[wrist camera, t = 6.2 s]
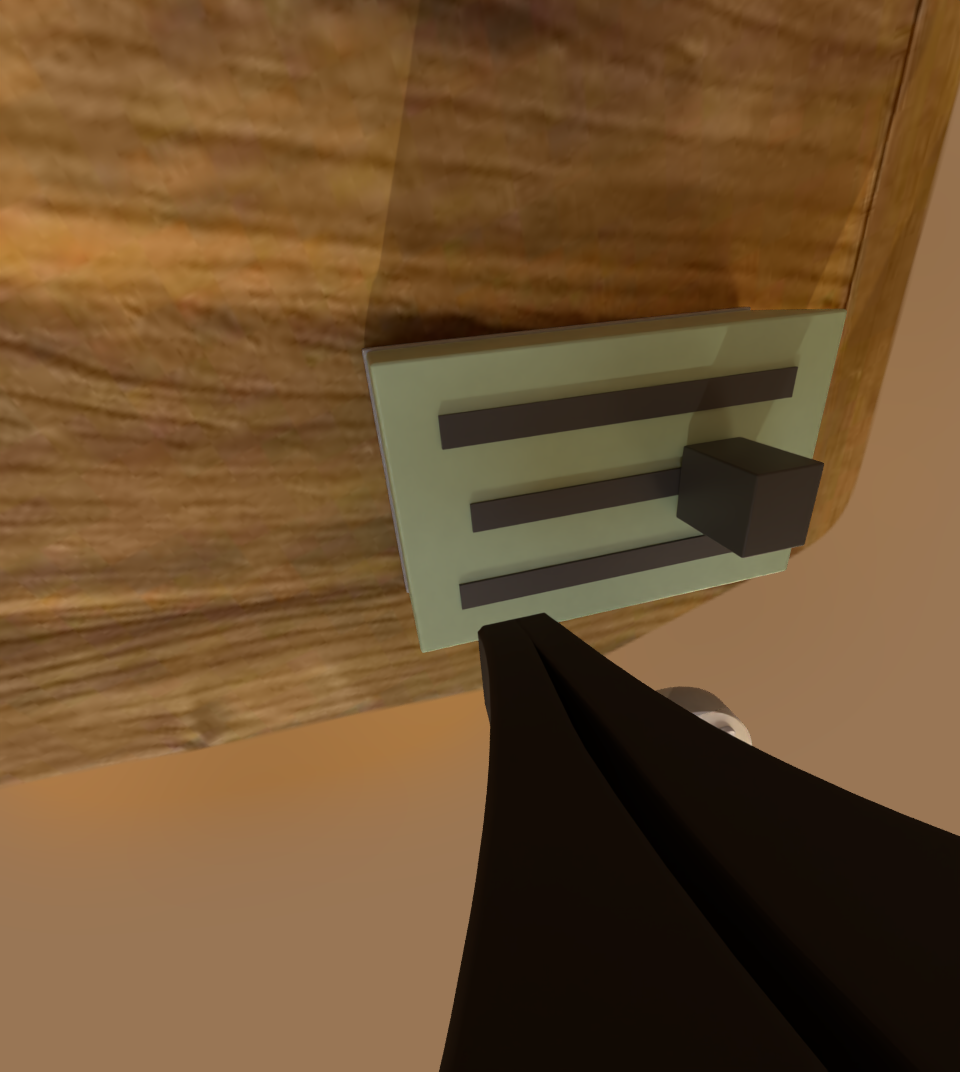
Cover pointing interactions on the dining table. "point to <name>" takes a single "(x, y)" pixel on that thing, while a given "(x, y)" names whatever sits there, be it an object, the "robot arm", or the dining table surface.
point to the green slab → (581, 456)
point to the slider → (748, 495)
